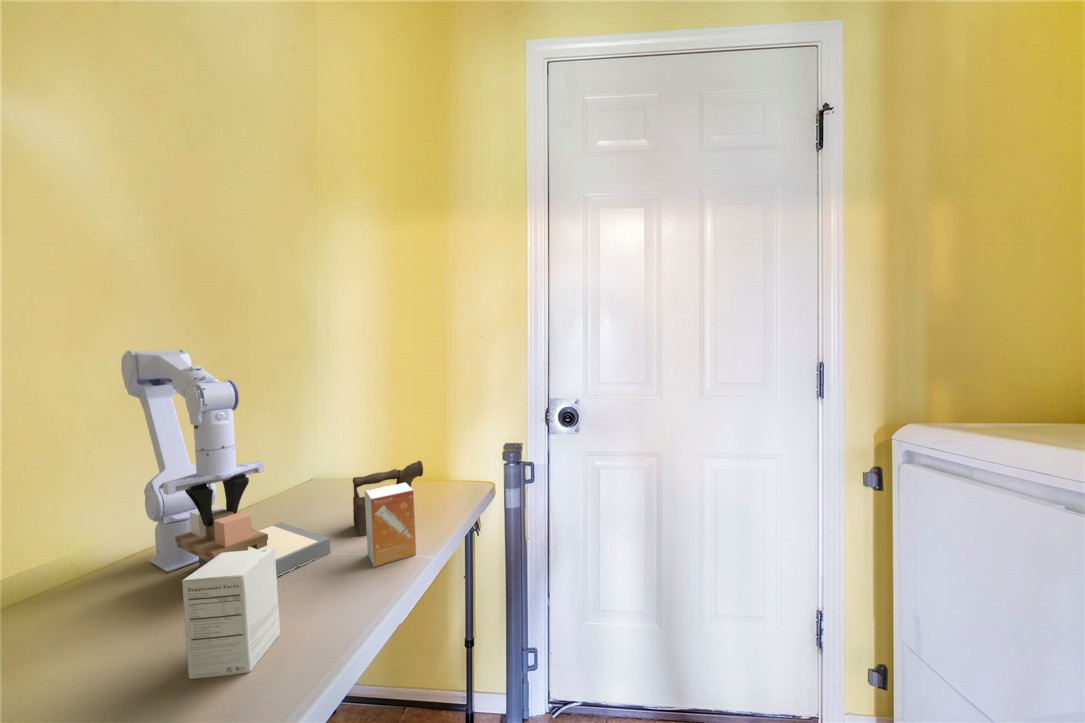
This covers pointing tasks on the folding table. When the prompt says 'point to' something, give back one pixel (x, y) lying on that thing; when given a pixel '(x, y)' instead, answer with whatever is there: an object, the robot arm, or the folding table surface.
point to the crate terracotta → (232, 529)
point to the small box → (390, 523)
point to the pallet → (210, 549)
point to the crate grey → (200, 521)
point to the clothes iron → (400, 475)
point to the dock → (291, 546)
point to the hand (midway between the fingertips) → (220, 521)
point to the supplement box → (231, 612)
